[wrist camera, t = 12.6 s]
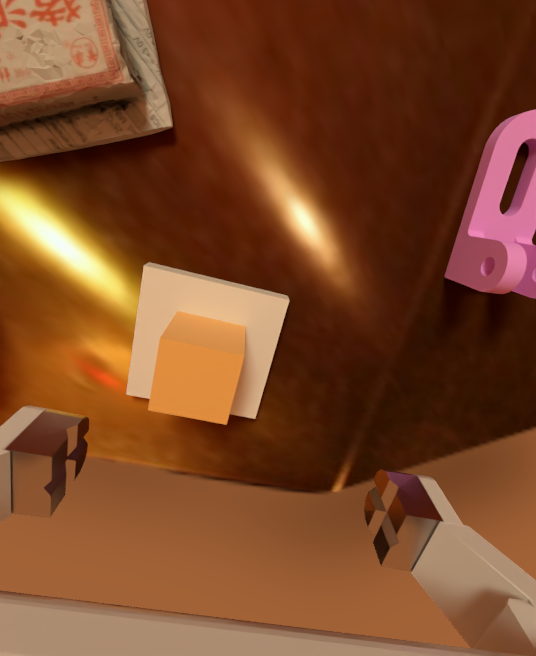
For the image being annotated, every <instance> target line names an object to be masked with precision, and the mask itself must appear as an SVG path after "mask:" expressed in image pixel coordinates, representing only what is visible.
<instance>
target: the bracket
mask: <svg viewBox="0 0 536 656" xmlns="http://www.w3.org/2000/svg"><path fill="white" fill-rule="evenodd" d="M523 142H525V143H526V144H527V145H528V147H529V155H528V158H527V161H526V164H525V166H524V169H523V172H522V175H521V178H520V181H519V183H518V186H517V189H516V192H515V195H514V198H513V200H512V203H511V206H510V208H509V210H508V211H507V212H506V213H504V214H502V213H501V212H500V209H499V205H500V201H501V198H502V195H503V192H504V189H505V186H506V184H507V181H508V178H509V175H510V172H511V169H512V166H513V163H514V160H515V157H516V154H517V151H518V149H519V147H520V145H521V144H522V143H523ZM535 229H536V110H531V111H528V112H524V113H521V114H518V115H515V116H512V117H510V118H508V119H507V120H505V121H504V122H502V123H501V124H500V125H499V126H498V127H497V128H496V129H495V130H494V131H493V133H492V134H491V136H490V137H489V139H488V141H487V143H486V145H485V148H484V151H483V155H482V158H481V161H480V164H479V167H478V171H477V174H476V177H475V180H474V183H473V187H472V190H471V193H470V196H469V199H468V203H467V206H466V209H465V212H464V215H463V219H462V222H461V225H460V228H459V232H458V235H457V238H456V241H455V244H454V248H453V251H452V254H451V257H450V260H449V264H448V267H447V270H446V273H445V276H444V277H445V278H448V279H450V280H453V281H455V282H458V283H460V284H463V285H465V286H468V287H470V288H473V289H475V290H478V291H481V292H488V293H496V294H505V293H508V292H510V291H513V292H516V293H519V294H522V295H525V296H527V297H530V298H535V299H536V245H533V244H532V237H533V235H534V232H535Z"/></svg>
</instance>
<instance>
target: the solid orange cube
mask: <svg viewBox="0 0 536 656" xmlns="http://www.w3.org/2000/svg"><path fill="white" fill-rule="evenodd" d="M245 330H246V326H242V325H238V324H233V323H229V322H224V321H220V320H216V319H211V318H207V317H202V316H198V315H194V314H189V313H185V312H180V311H177V313H176V314H175V316H174V317H173V319H172V320H171V322H170V323H169V325H168V326H167V328H166V329H165V331H164V333H163V334H162V336H161V337H160V341H159V347H158V353H157V359H156V365H155V371H154V377H153V383H152V389H151V395H150V401H149V407H148V410H150V411H155V412H161V413H166V414H171V415H177V416H182V417H187V418H193V419H198V420H203V421H209V422H214V423H219V424H224V425H227V421H228V418H229V414H230V410H231V406H232V402H233V398H234V395H235V391H236V387H237V383H238V379H239V375H240V372H241V368H242V364H243V360H244V356H245Z"/></svg>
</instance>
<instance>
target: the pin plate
mask: <svg viewBox="0 0 536 656" xmlns="http://www.w3.org/2000/svg"><path fill="white" fill-rule="evenodd" d="M288 304H289V298H288V296H287V295H283V294H279V293H274V292H270V291H266V290H262V289H258V288H254V287H250V286H245V285H241V284H237V283H233V282H229V281H225V280H220V279H216V278H212V277H208V276H204V275H200V274H196V273H191V272H187V271H183V270H179V269H175V268H171V267H166V266H162V265H158V264H154V263H150V262H149V263H147V264H146V265H144V268H143V275H142V283H141V290H140V297H139V304H138V312H137V319H136V326H135V333H134V341H133V348H132V355H131V362H130V370H129V377H128V384H127V391H126V395H131V396H137V397H142V398H147V399H150V395H151V389H152V383H153V377H154V371H155V365H156V359H157V353H158V347H159V341H160V337H161V336H162V334H163V333H164V331H165V329H166V328H167V326H168V325H169V323H170V322H171V320H172V319H173V317H174V316H175V314H176V313H177V311H180V312H185V313H189V314H194V315H198V316H202V317H207V318H211V319H216V320H220V321H224V322H229V323H233V324H238V325H242V326H246V330H245V356H244V360H243V364H242V368H241V372H240V375H239V379H238V383H237V387H236V391H235V395H234V398H233V402H232V406H231V410H230V414H231V415H237V416H242V417H247V418H253V419H255V418H256V415H257V411H258V408H259V404H260V401H261V397H262V394H263V390H264V387H265V383H266V380H267V376H268V373H269V369H270V366H271V363H272V359H273V356H274V352H275V349H276V345H277V342H278V338H279V335H280V331H281V328H282V324H283V321H284V317H285V314H286V310H287V307H288Z"/></svg>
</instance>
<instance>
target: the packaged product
mask: <svg viewBox="0 0 536 656" xmlns="http://www.w3.org/2000/svg"><path fill="white" fill-rule="evenodd" d="M170 128H173V122H172V114H171V107H170V102H169V98H168V95H167V91H166V88H165V84H164V80H163V77H162V73H161V68H160V63H159V58H158V53H157V48H156V43H155V39H154V34H153V29H152V25H151V20H150V15H149V11H148V6H147V2H146V0H0V162H4V161H12V160H19V159H25V158H29V157H35V156H41V155H47V154H53V153H59V152H66V151H71V150H76V149H82V148H87V147H92V146H97V145H102V144H108V143H113V142H117V141H122V140H127V139H132V138H137V137H141V136H146V135H151V134H154V133H158V132H161V131H164V130H167V129H170Z"/></svg>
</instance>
